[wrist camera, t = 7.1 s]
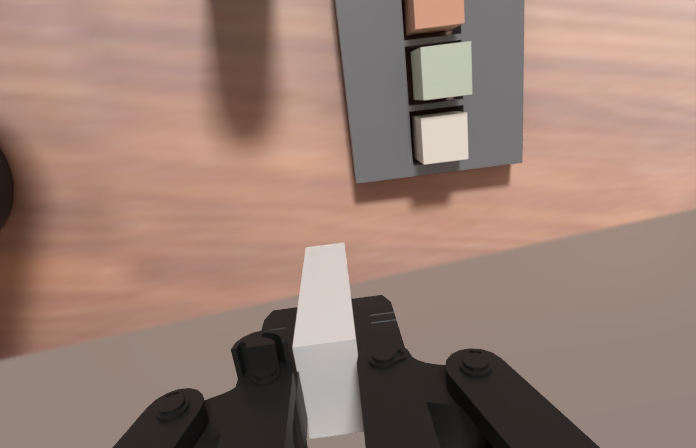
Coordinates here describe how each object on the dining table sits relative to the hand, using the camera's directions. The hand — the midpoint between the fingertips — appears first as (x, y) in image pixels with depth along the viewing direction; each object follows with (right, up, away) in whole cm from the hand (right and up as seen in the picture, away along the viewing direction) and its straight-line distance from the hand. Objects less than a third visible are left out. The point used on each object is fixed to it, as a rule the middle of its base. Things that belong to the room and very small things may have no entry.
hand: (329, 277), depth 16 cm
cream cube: (+9, +11, +23) cm, 27 cm away
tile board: (+8, +16, +23) cm, 29 cm away
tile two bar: (+8, +15, +20) cm, 27 cm away
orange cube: (+8, +21, +20) cm, 30 cm away
